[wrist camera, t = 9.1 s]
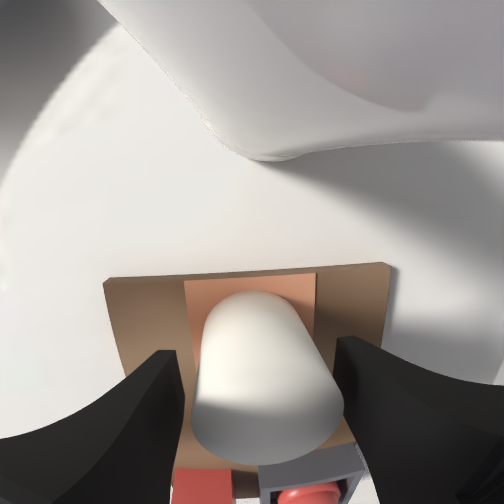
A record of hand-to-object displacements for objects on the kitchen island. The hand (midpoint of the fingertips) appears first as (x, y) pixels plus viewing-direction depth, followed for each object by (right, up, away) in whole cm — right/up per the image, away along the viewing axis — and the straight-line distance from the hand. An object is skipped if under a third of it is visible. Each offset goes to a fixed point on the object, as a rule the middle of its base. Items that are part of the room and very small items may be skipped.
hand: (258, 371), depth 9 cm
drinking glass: (0, +10, +1) cm, 10 cm away
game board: (0, -5, +5) cm, 7 cm away
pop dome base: (+3, -11, +5) cm, 12 cm away
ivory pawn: (0, +1, +2) cm, 2 cm away
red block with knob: (-3, -11, +5) cm, 12 cm away
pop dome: (+3, -11, +4) cm, 12 cm away
